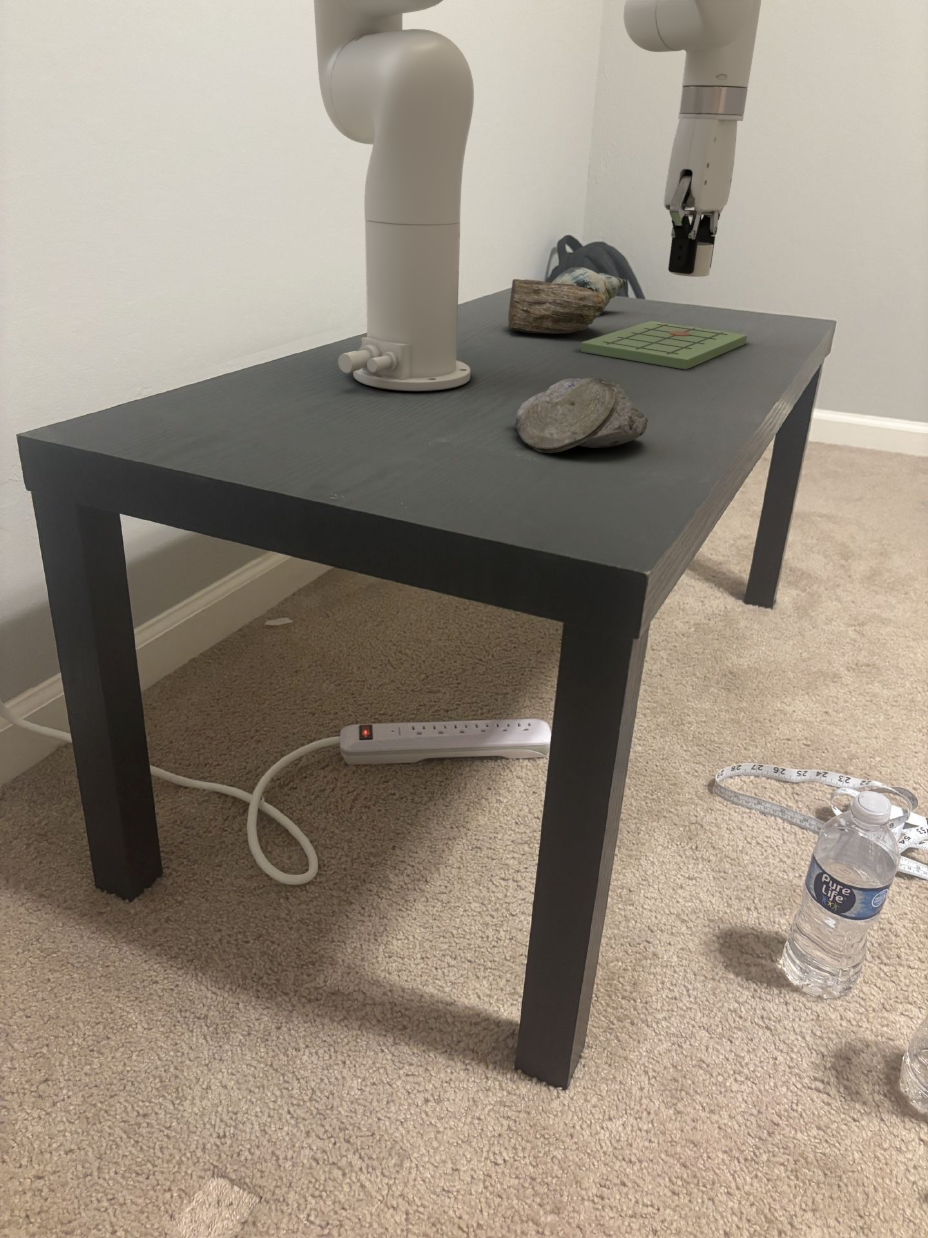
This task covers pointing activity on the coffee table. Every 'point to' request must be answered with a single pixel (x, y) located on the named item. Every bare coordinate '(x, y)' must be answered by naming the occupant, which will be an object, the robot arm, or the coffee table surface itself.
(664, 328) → the board
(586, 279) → the seashell
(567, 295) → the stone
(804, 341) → the coffee table surface
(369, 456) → the coffee table surface
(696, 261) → the beige cylinder
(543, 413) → the fossilized seashell
